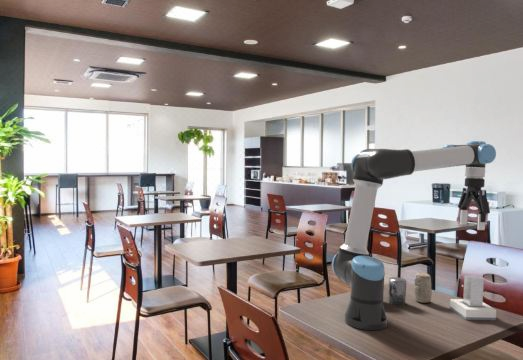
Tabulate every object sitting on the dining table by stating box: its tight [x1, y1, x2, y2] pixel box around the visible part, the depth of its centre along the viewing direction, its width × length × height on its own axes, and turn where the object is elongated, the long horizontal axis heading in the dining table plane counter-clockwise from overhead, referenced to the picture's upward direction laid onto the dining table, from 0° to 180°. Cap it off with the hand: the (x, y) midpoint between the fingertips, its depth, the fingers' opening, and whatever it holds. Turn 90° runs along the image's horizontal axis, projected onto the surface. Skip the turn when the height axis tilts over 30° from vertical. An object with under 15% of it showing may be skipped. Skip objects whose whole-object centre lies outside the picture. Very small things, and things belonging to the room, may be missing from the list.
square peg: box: [462, 274, 485, 308], centre depth 165 cm, size 5×5×14 cm
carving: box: [413, 272, 433, 304], centre depth 179 cm, size 6×8×12 cm
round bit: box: [387, 276, 407, 307], centre depth 176 cm, size 7×7×10 cm
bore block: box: [449, 298, 497, 321], centre depth 166 cm, size 12×12×4 cm
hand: (471, 227), depth 178 cm, fingers open, 13 cm apart
